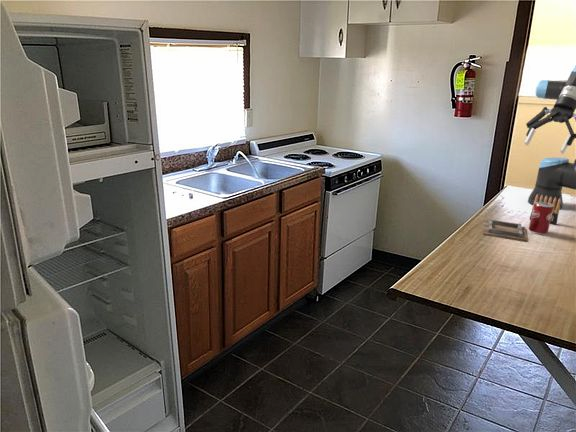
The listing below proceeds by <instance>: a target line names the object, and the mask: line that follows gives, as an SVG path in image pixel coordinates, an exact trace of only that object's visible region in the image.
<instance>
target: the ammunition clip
mask: <svg viewBox="0 0 576 432" xmlns="http://www.w3.org/2000/svg"><path fill="white" fill-rule="evenodd" d="M542 200H543V195H541V197H540V200H539V202H542ZM536 202H538V194H537V195H536V197H535V201H534V203H536ZM544 202H546V203H547V196H546V197H545V199H544ZM551 202H552V197H550V198H549V201H548V203H550V204H551ZM534 203H533V205H532V208H531V212H530V216H529V219H528V220H531V215H532V211H533V206H534ZM560 203H561V198H559V200H558V203H557V206H556V208H555V205H556V197H555V198H554V200H553V203H552V205H553V207H554V209H553V213H552V217H551V221H550V225H553V226H557V223H558V219H559V214H560V209H561V208H560Z"/></svg>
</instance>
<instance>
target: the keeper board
mask: <svg viewBox="0 0 576 432" xmlns="http://www.w3.org/2000/svg"><path fill="white" fill-rule="evenodd" d="M526 231H527V230H526V227H525V226H522V224H521V223H514V222H508V221H502V220H496V219H495V220H494V219H490V218H489V220H484V221H483V232H482V235H483V236H488V237H489V236H490V237H496V238H501V239H502V238H503V239H506V240H507V239H509V240H515V241H520V242H526V243H527V242H528V239H527V238H528V237H527V232H526Z"/></svg>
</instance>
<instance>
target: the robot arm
mask: <svg viewBox="0 0 576 432" xmlns="http://www.w3.org/2000/svg"><path fill="white" fill-rule="evenodd" d="M535 96H536V97H537V98H539V99H544V100H553V101H554V100H555V101H556V102H555V103H554V105H553V107H552V108H548V107H547V106H544V107H543V108H542V109H541V111H540V112H539V113H537V114H536V115H535V116H534V117H533V118H530V120H529V121H527V122H526V123H525V125H526V128H527V129H528V130H527V132H526V134H525V135H526V138H525V139H524V140H525V141H524V144H525V146H529V144H530V142H531V141H532V139H533V137H534V135H535V133H536V130H537V129H539V128H540V127H543V126H544V125H546V124H548V123H552V122H555V123H559V124H563V123H565V125H566V127H567V130H568V132H569V134H568V135H567V136H566V138H565V140H564V142H563V145H562V146H561V147H560V150H559V151H560V153H561V154H564V153H565V152H566V150H567V148H568V146H572V144H573V142H574V141H575V139H576V133H575V132H574V130H573V128H572V125H571V123H570V119H572V118H574V120H575V121H576V113H575V111H576V65H574V67H573V69H572V70H571V71H570V74H569V77H568V79H567V80H549V79H548V80H543V79H542V80H540V81H539V82H538V83H537V85H536V87H535ZM549 113H550V114H549ZM545 116H546V117H545ZM563 188H566V189H569V190H576V158H574V161H573V163H572V162H570V159H569V158H566V157H556V156H555V157H545V158H542V159H541V160H540V164H539V166H538V171H537V175H536V180H535V185H534V188H533V190H532V191H531V193H530V194H529V195H528V200H527V203H528V204H530V205H532V206H533V203H534V201H535V197H536V195H537V194H538V202H539V200H540V197H541V195H543V200H542V202H544V199H545V197H546V196H547V203H548V201H549V198H550V197H552V202H551V204H552V203H553V200H554V198H555V197H556V205H555V208H556V206H557V203H558V200H559V198H561V203H560V209H561V208H562V207H563V203H564V202H563V201H564V200H563V193H562V191H563Z"/></svg>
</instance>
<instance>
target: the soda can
mask: <svg viewBox="0 0 576 432" xmlns="http://www.w3.org/2000/svg"><path fill="white" fill-rule="evenodd" d="M532 208H533V211H532V210H531V212H532V215H531V214H530V215H531V220H530V221H529V224H528V230H529V232H531V233H533V234H535V235H546V234H548V233H549V230H550V229H549V228H550V226H551V224H550V221H551V217H552V213H553V209H554V207H553V205H552V204H550V203H546V202H536V203H534V206H533V205H532Z"/></svg>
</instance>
